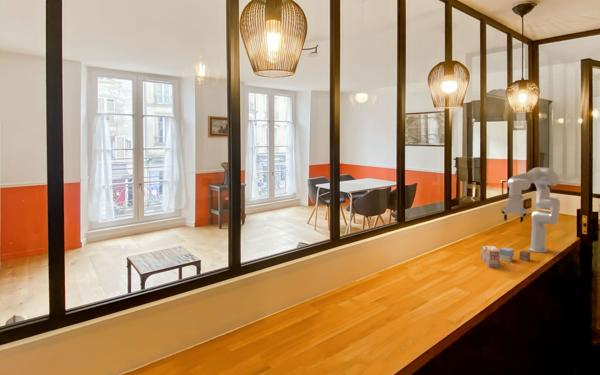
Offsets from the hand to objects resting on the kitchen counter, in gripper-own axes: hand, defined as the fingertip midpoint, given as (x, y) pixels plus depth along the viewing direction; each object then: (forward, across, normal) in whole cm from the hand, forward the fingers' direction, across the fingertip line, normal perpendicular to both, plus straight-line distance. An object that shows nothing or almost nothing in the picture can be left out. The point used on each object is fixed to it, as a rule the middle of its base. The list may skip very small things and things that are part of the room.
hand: (513, 221), depth 268 cm
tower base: (+29, +3, -2) cm, 30 cm away
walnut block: (+29, -7, -10) cm, 31 cm away
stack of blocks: (+30, +11, +13) cm, 34 cm away
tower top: (+25, +3, -2) cm, 26 cm away
